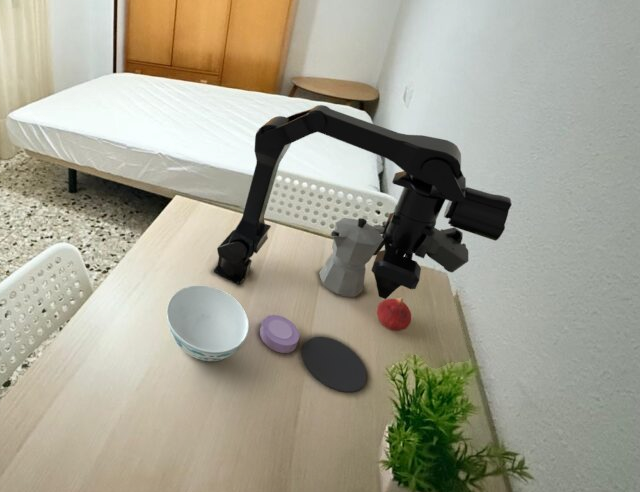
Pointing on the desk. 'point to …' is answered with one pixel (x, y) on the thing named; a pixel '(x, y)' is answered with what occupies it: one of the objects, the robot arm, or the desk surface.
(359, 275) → the coffeepot
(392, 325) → the red pomegranate
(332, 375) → the coaster
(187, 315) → the chinaware
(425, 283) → the desk surface
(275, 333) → the purple disc
